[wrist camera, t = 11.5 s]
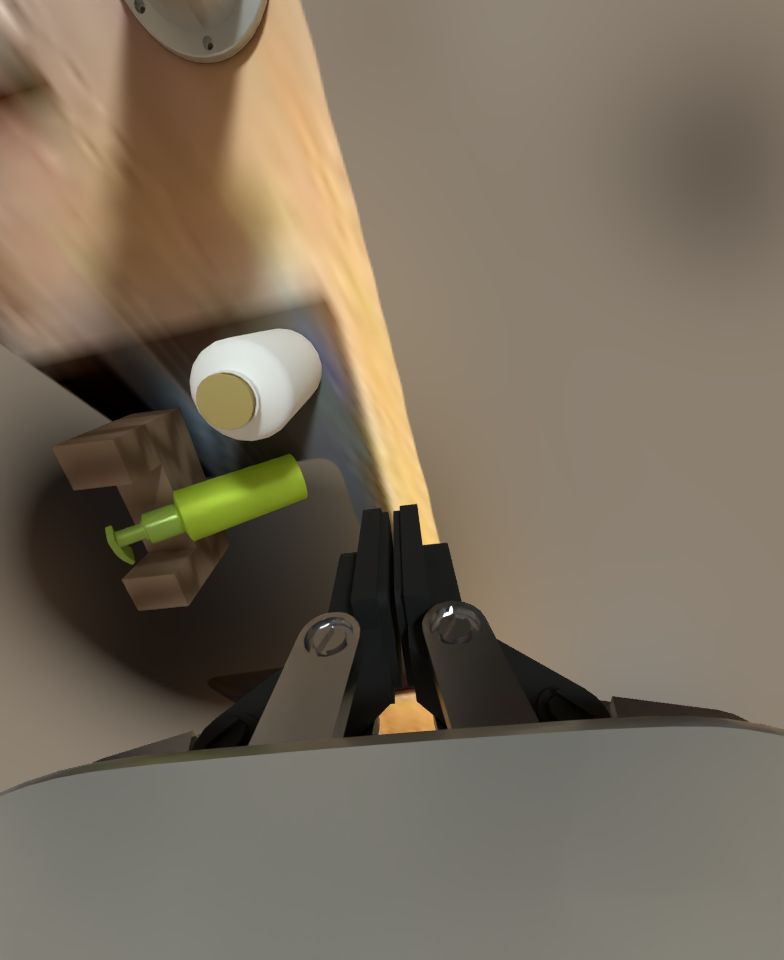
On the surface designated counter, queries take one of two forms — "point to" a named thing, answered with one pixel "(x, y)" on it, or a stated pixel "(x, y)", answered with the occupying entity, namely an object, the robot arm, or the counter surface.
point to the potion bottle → (254, 382)
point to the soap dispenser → (216, 505)
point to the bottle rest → (148, 497)
